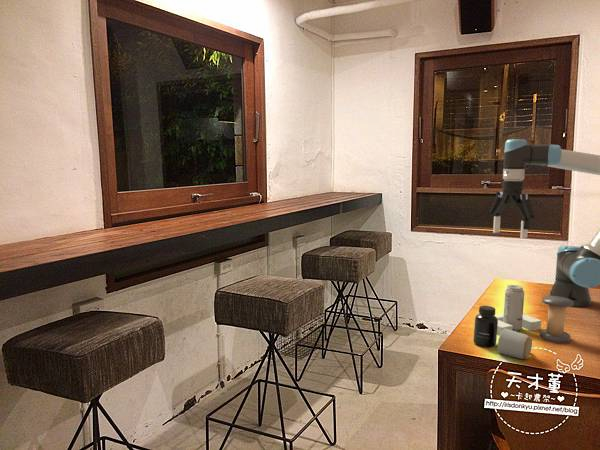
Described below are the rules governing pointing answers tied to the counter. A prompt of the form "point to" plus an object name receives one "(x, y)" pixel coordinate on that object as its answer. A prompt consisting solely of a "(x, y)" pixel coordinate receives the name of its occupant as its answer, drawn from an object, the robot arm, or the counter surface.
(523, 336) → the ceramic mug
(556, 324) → the bobbin
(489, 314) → the supplement bottle
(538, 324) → the notched board
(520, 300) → the energy drink can
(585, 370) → the counter surface
